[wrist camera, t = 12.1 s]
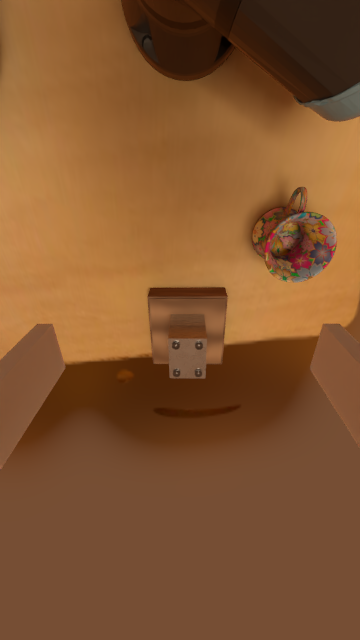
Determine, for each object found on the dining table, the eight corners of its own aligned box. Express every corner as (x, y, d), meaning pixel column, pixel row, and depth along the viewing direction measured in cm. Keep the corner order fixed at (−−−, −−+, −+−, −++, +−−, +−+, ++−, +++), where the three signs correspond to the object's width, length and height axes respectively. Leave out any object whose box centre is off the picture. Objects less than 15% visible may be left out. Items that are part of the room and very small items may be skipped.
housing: (171, 314, 47) (167, 339, 39) (204, 314, 46) (207, 340, 39) (172, 350, 50) (169, 379, 43) (202, 350, 50) (205, 379, 43)
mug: (300, 259, 45) (328, 281, 36) (246, 262, 46) (261, 284, 37) (313, 182, 40) (351, 185, 30) (251, 187, 40) (271, 190, 31)
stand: (150, 288, 49) (147, 297, 45) (224, 287, 48) (227, 297, 45) (155, 352, 56) (153, 364, 52) (219, 352, 56) (222, 364, 52)
